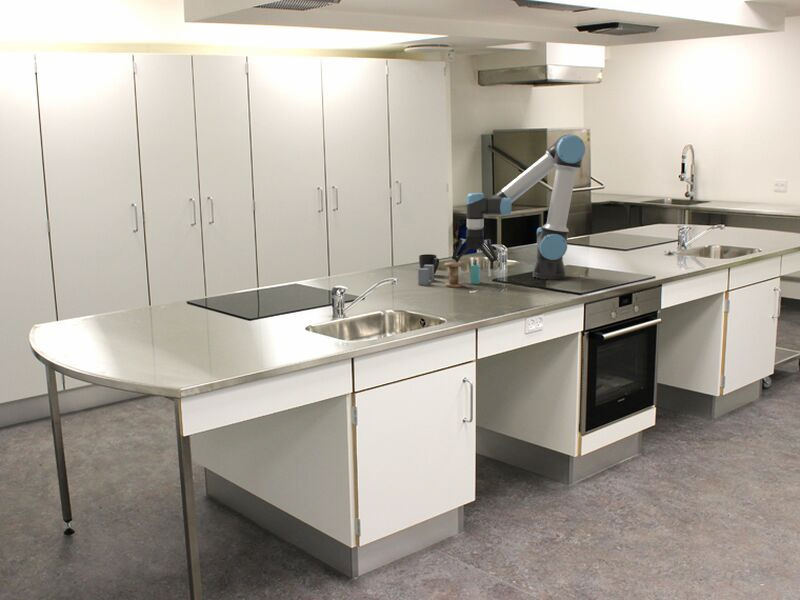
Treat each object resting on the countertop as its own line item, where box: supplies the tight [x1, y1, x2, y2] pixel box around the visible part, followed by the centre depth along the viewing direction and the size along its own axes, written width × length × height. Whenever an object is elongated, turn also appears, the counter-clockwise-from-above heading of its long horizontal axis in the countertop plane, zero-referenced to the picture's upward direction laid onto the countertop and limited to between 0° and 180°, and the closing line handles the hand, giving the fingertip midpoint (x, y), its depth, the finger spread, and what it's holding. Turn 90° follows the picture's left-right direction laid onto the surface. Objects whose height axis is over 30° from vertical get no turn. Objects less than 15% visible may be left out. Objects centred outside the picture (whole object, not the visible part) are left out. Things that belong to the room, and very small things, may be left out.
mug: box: [418, 253, 440, 275], centre depth 411 cm, size 8×12×10 cm
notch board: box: [417, 265, 435, 286], centre depth 394 cm, size 4×14×7 cm, turn 165°
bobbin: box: [444, 261, 464, 288], centre depth 384 cm, size 8×8×10 cm
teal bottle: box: [470, 259, 481, 285], centre depth 390 cm, size 4×4×10 cm
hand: (474, 275), depth 391 cm, fingers open, 13 cm apart
